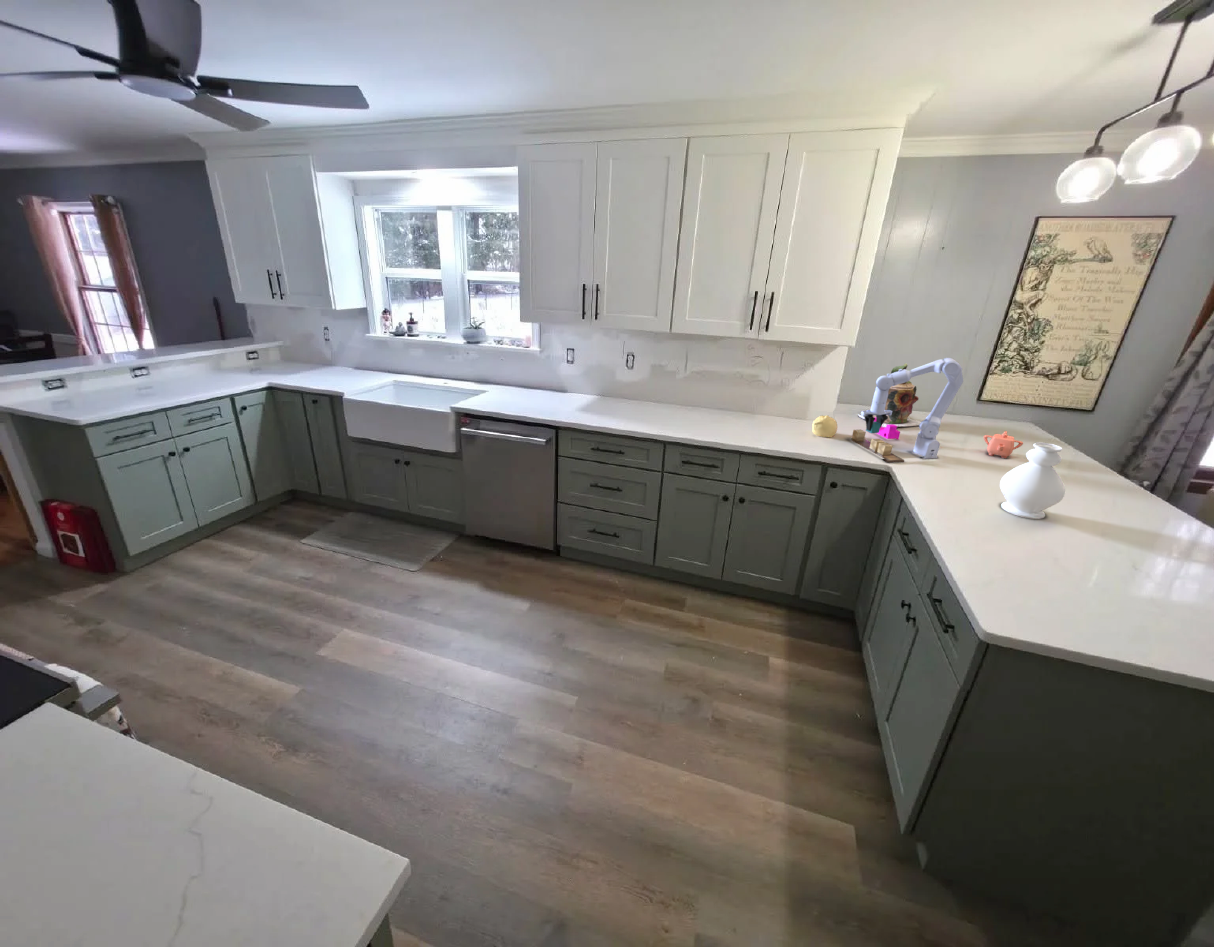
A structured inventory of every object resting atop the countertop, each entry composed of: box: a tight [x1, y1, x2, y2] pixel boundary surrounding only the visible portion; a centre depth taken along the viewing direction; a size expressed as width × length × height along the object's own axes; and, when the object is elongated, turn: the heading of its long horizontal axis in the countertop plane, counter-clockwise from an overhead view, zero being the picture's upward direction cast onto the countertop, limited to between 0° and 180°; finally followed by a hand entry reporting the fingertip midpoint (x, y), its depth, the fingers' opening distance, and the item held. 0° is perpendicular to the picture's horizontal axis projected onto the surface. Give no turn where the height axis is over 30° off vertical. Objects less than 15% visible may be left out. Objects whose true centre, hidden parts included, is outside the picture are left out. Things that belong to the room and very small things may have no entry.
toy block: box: [874, 417, 901, 441], centre depth 254 cm, size 15×6×8 cm, turn 7°
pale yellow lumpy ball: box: [811, 414, 838, 438], centre depth 251 cm, size 12×12×11 cm
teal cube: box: [865, 421, 881, 434], centre depth 234 cm, size 4×4×4 cm
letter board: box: [847, 428, 905, 464], centre depth 234 cm, size 31×8×6 cm, turn 9°
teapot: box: [983, 430, 1024, 459], centre depth 229 cm, size 14×12×10 cm
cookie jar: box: [857, 362, 923, 428], centre depth 272 cm, size 25×25×32 cm
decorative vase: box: [999, 441, 1066, 520], centre depth 174 cm, size 18×18×25 cm
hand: (872, 429), depth 235 cm, fingers closed on teal cube, 4 cm apart
